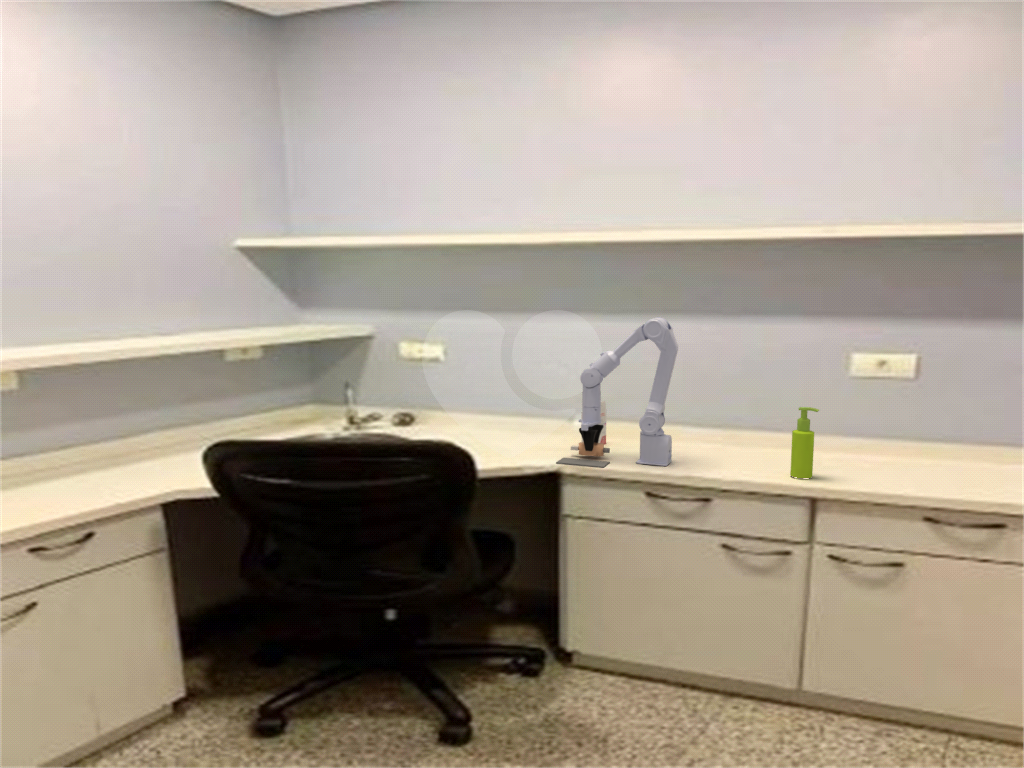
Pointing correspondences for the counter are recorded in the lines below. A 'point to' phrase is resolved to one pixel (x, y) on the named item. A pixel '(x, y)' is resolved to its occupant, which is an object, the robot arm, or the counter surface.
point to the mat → (583, 462)
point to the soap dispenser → (802, 446)
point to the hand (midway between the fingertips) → (591, 449)
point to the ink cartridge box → (602, 423)
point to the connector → (597, 450)
